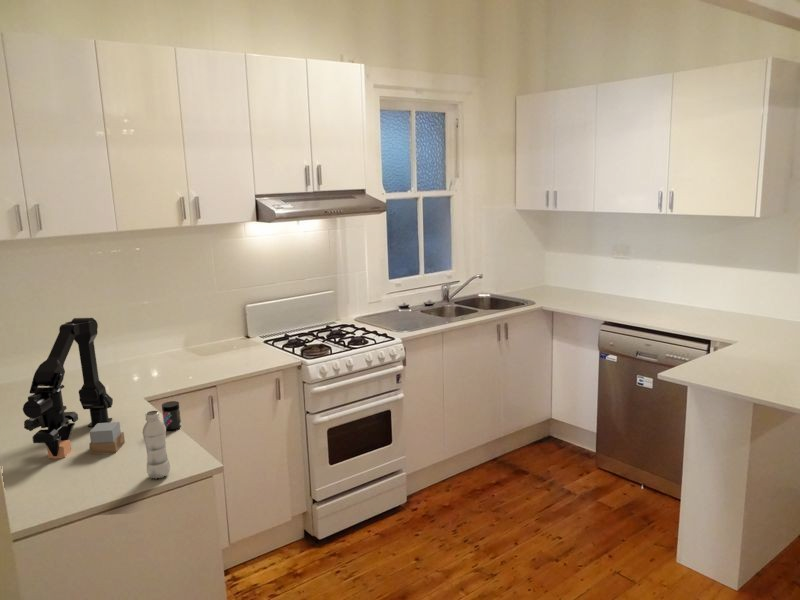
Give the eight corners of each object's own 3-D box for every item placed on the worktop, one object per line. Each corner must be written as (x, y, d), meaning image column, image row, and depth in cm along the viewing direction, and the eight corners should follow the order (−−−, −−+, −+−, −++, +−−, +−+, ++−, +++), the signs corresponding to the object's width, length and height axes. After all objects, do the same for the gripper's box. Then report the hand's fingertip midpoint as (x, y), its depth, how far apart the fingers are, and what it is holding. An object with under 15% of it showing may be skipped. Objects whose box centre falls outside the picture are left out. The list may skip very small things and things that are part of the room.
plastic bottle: (142, 479, 186) (134, 416, 182) (158, 469, 193) (151, 407, 188) (160, 483, 184) (152, 418, 180) (175, 472, 190) (168, 409, 186)
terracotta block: (55, 452, 207) (54, 440, 206) (71, 451, 207) (70, 439, 206) (48, 459, 202) (47, 447, 201) (65, 458, 202) (63, 446, 202)
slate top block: (99, 434, 210) (97, 423, 210) (120, 433, 211) (119, 421, 210) (91, 443, 204) (89, 431, 203) (113, 441, 204) (112, 430, 203)
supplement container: (164, 426, 225) (161, 402, 223) (181, 424, 227) (179, 400, 225) (163, 432, 220) (160, 408, 218) (181, 430, 221) (178, 405, 219)
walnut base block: (100, 444, 212) (99, 433, 211) (125, 443, 213) (123, 432, 212) (90, 455, 204) (89, 443, 203) (116, 453, 205) (114, 442, 204)
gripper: (41, 396, 210) (47, 440, 213) (11, 418, 192) (19, 466, 195) (75, 395, 210) (81, 438, 214) (49, 417, 192) (56, 464, 196)
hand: (59, 451), depth 204 cm, fingers open, 6 cm apart
